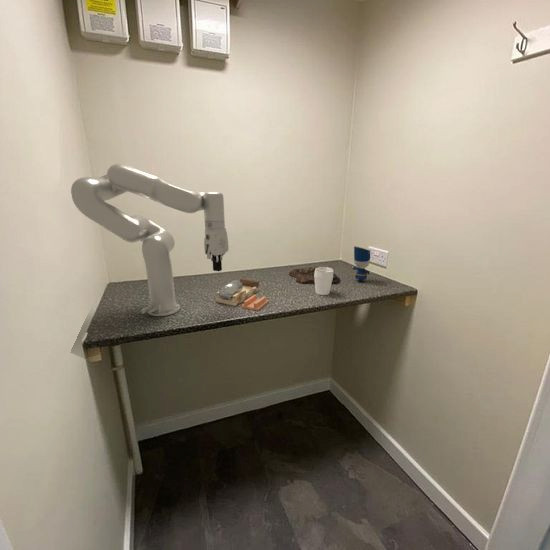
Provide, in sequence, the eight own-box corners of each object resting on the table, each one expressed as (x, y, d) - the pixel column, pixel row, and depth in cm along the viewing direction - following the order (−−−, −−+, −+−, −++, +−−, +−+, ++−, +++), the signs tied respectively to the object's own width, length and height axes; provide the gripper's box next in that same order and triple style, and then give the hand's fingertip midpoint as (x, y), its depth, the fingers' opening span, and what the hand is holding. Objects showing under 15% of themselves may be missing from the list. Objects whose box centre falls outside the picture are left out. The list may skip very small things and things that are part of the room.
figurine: (374, 283, 154) (378, 247, 148) (362, 286, 149) (367, 249, 143) (355, 277, 164) (359, 242, 158) (344, 279, 159) (347, 244, 153)
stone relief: (325, 262, 179) (349, 277, 151) (324, 269, 180) (348, 284, 153) (285, 265, 172) (303, 280, 145) (285, 272, 173) (302, 288, 146)
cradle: (257, 311, 118) (257, 304, 118) (241, 307, 122) (241, 301, 121) (268, 302, 127) (268, 296, 126) (253, 299, 130) (253, 293, 129)
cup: (316, 296, 135) (317, 272, 131) (311, 290, 143) (312, 267, 139) (334, 295, 136) (336, 271, 132) (328, 289, 144) (329, 266, 141)
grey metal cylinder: (231, 300, 123) (229, 286, 122) (220, 299, 126) (218, 286, 124) (243, 292, 132) (241, 280, 130) (232, 292, 134) (230, 280, 133)
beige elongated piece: (235, 306, 123) (235, 295, 121) (216, 301, 127) (216, 291, 126) (258, 290, 141) (258, 281, 140) (241, 287, 145) (241, 278, 144)
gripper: (210, 228, 102) (213, 276, 108) (233, 223, 115) (235, 267, 121) (194, 226, 105) (197, 274, 111) (218, 222, 118) (220, 264, 124)
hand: (217, 270), depth 116 cm, fingers closed
